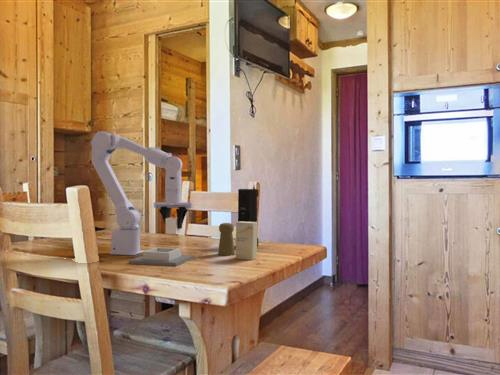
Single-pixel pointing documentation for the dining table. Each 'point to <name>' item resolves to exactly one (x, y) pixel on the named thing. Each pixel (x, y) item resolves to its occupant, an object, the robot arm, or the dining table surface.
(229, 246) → the cork
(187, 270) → the dining table surface
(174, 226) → the brick
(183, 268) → the dining table surface
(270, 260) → the dining table surface
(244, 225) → the skincare box
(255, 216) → the portable radio
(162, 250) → the outlet plate
